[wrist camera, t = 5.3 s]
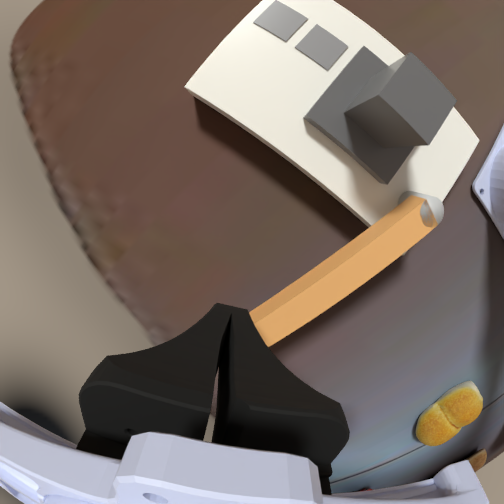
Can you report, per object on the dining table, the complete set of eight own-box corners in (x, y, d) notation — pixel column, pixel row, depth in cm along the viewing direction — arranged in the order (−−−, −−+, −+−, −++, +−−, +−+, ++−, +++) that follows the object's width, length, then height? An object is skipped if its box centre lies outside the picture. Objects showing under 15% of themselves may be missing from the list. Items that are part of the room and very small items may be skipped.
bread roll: (401, 424, 25) (413, 449, 21) (463, 369, 23) (481, 392, 19) (428, 439, 26) (439, 460, 23) (481, 393, 24) (496, 412, 21)
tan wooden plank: (412, 185, 15) (436, 190, 12) (423, 207, 15) (447, 216, 13) (211, 329, 18) (205, 354, 15) (228, 346, 18) (224, 372, 15)
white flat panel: (458, 140, 16) (480, 140, 14) (387, 244, 19) (404, 256, 16) (286, -6, 14) (290, -25, 11) (193, 96, 16) (184, 86, 14)
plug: (410, 119, 16) (485, 105, 8) (365, 180, 17) (432, 195, 10) (346, 62, 15) (398, 12, 8) (296, 123, 16) (327, 95, 9)
